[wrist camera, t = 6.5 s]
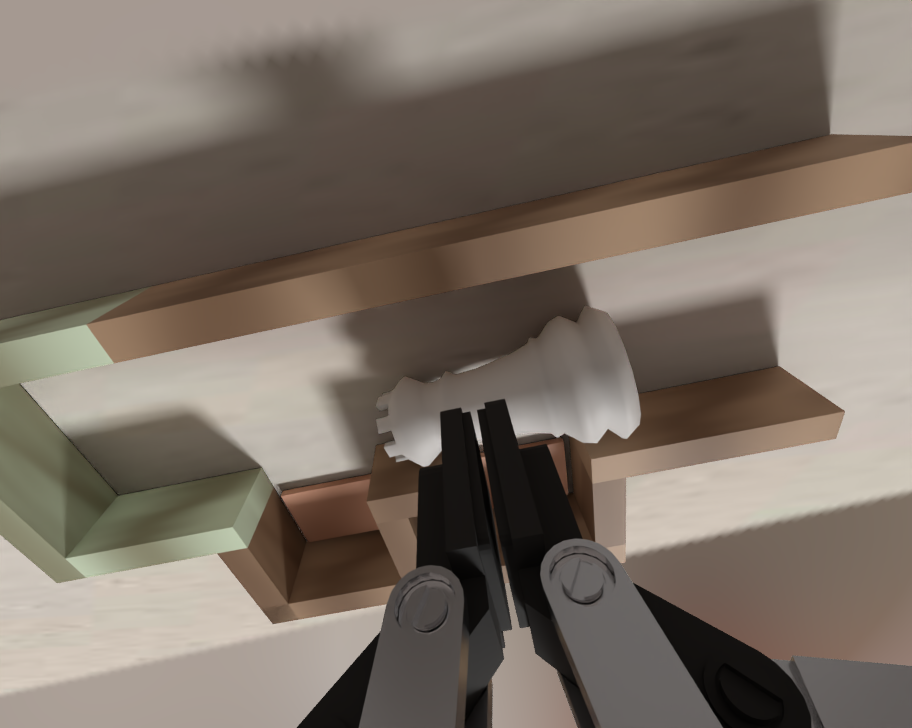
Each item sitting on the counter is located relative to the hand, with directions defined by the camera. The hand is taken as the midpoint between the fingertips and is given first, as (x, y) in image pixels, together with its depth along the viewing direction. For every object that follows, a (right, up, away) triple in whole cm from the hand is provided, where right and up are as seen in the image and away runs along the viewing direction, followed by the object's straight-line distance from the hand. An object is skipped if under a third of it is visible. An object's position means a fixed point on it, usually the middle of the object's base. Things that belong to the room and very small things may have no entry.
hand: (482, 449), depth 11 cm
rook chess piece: (+5, +2, +3) cm, 6 cm away
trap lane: (-2, 0, +6) cm, 6 cm away
